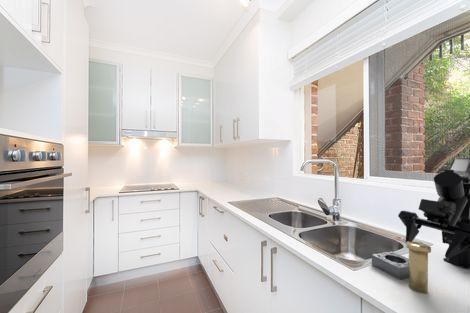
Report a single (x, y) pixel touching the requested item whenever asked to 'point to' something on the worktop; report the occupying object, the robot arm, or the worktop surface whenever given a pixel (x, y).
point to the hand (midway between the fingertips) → (425, 250)
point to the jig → (392, 264)
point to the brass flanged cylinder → (418, 266)
